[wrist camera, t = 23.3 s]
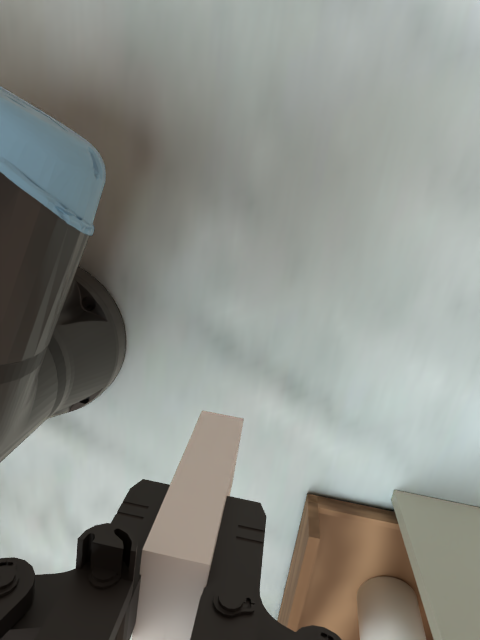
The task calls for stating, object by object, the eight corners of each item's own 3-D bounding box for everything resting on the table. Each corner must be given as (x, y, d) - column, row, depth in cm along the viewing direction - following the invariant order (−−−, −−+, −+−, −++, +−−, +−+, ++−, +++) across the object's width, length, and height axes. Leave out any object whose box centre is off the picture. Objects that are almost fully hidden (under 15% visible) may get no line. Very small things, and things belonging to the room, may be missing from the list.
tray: (275, 631, 52) (272, 686, 46) (307, 493, 46) (308, 536, 41) (445, 671, 50) (464, 732, 45) (498, 533, 45) (528, 584, 39)
